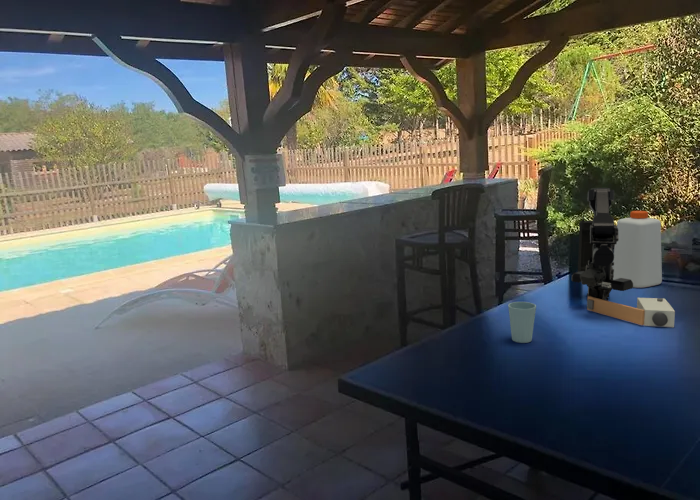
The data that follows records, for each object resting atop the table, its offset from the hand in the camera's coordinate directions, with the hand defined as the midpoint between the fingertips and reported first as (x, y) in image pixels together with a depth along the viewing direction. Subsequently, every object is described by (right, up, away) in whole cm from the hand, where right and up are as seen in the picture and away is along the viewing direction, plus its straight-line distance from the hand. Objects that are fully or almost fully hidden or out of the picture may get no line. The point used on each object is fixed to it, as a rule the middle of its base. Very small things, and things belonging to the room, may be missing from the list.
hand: (600, 306), depth 188 cm
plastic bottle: (+29, +5, +35) cm, 45 cm away
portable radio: (+17, +8, +51) cm, 54 cm away
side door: (+1, -3, -7) cm, 7 cm away
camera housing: (+13, -3, -9) cm, 16 cm away
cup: (-33, -8, -22) cm, 40 cm away
